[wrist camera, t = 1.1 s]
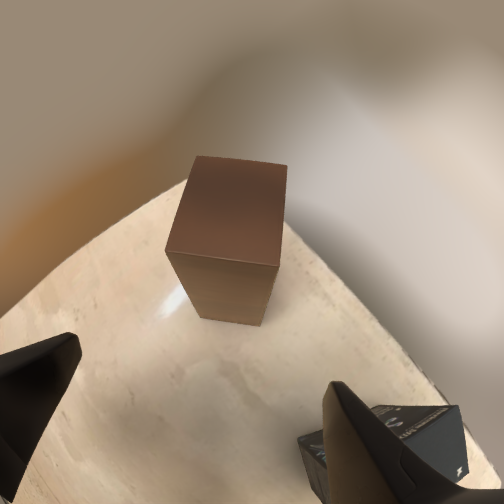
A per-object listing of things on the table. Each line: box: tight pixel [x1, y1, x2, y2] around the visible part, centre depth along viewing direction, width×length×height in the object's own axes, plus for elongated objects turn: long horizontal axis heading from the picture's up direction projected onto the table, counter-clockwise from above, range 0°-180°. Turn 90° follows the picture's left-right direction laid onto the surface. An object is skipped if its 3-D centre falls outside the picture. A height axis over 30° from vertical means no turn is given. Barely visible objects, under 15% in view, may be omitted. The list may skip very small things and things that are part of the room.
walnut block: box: [165, 156, 287, 326], centre depth 18 cm, size 6×5×12 cm
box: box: [297, 405, 469, 504], centre depth 13 cm, size 8×6×11 cm
